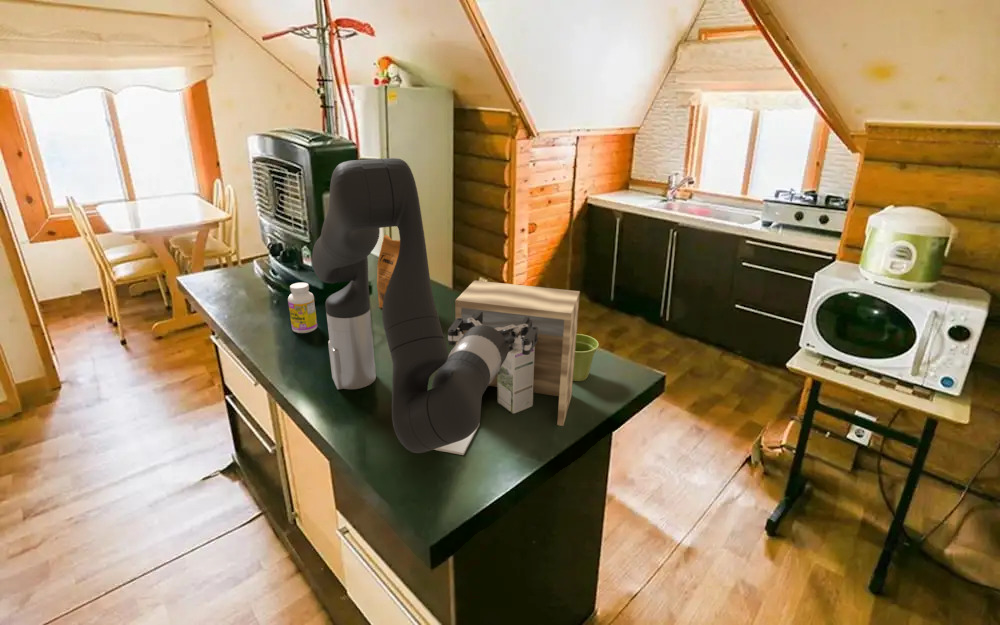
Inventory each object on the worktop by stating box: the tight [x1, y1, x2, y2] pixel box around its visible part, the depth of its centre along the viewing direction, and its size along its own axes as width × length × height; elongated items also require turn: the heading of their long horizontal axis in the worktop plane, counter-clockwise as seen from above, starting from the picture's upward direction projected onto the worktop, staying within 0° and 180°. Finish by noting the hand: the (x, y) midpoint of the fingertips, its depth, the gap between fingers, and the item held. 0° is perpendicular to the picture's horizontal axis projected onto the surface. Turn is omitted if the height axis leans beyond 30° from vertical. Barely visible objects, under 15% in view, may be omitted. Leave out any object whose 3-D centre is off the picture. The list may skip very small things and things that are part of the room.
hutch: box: [454, 280, 581, 427], centre depth 111 cm, size 12×22×24 cm, turn 75°
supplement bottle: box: [287, 282, 318, 334], centre depth 146 cm, size 7×7×13 cm
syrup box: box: [496, 346, 535, 415], centre depth 112 cm, size 6×6×14 cm
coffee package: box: [376, 234, 400, 309], centre depth 159 cm, size 10×12×22 cm
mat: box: [432, 422, 481, 456], centre depth 104 cm, size 10×10×1 cm
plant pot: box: [573, 333, 600, 382], centre depth 125 cm, size 9×9×9 cm
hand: (503, 318), depth 95 cm, fingers open, 8 cm apart
